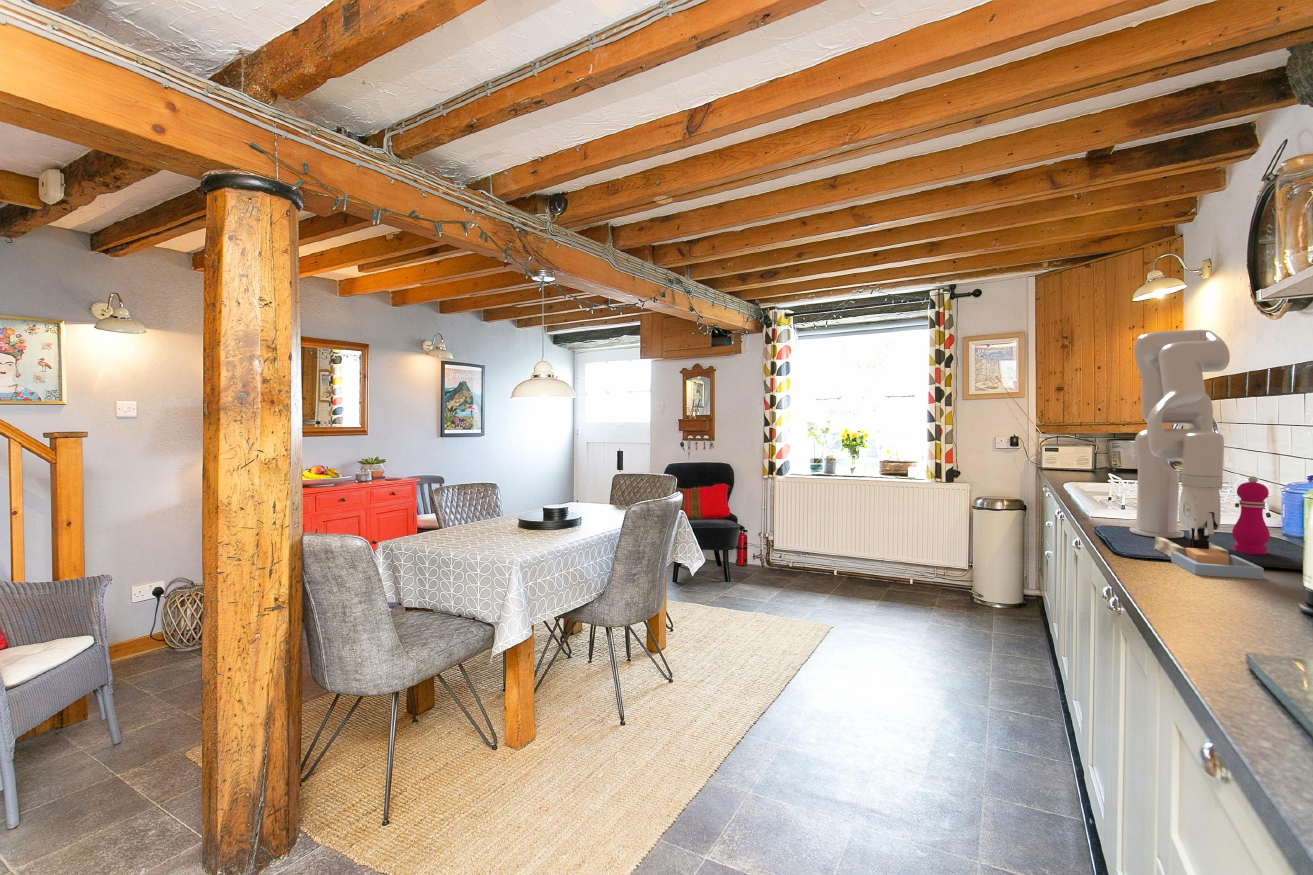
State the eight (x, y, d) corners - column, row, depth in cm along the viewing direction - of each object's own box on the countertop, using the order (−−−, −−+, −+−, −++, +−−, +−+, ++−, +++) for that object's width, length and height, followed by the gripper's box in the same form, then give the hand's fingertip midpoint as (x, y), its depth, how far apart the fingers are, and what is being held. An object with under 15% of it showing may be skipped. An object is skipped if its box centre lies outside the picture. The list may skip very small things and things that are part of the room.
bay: (1171, 561, 153) (1171, 551, 153) (1233, 565, 149) (1234, 555, 149) (1194, 574, 142) (1195, 564, 141) (1263, 579, 137) (1263, 568, 137)
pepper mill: (1252, 548, 164) (1256, 474, 163) (1277, 555, 157) (1281, 478, 156) (1223, 548, 165) (1226, 474, 164) (1246, 554, 158) (1250, 478, 157)
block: (1184, 563, 152) (1185, 547, 152) (1215, 565, 150) (1216, 549, 149) (1195, 570, 146) (1196, 554, 145) (1228, 573, 143) (1228, 556, 143)
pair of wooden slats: (1154, 549, 165) (1154, 536, 165) (1201, 552, 161) (1201, 539, 161) (1176, 561, 153) (1177, 547, 152) (1227, 564, 149) (1228, 550, 149)
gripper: (1169, 477, 159) (1167, 547, 161) (1197, 485, 145) (1194, 561, 147) (1205, 478, 157) (1202, 549, 158) (1237, 486, 143) (1234, 563, 144)
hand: (1198, 554), depth 152 cm, fingers closed
